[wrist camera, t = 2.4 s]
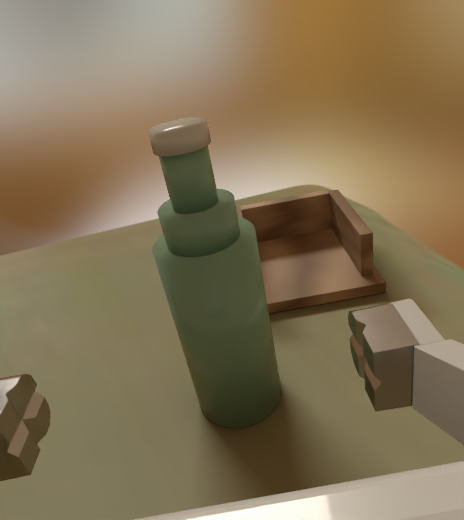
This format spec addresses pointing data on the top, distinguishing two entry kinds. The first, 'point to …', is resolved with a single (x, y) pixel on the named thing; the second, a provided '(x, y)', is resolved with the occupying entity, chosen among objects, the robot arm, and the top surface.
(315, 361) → the top surface
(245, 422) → the bottle
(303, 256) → the u rest
